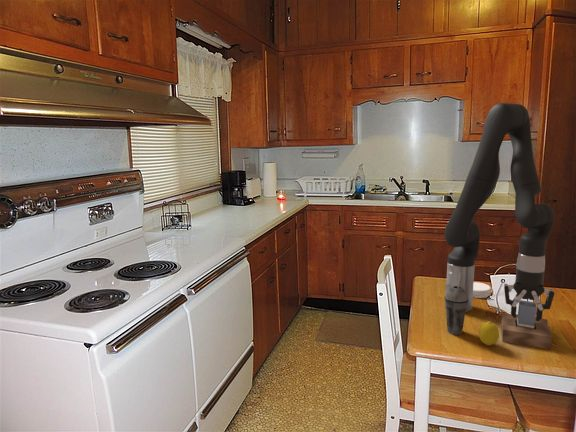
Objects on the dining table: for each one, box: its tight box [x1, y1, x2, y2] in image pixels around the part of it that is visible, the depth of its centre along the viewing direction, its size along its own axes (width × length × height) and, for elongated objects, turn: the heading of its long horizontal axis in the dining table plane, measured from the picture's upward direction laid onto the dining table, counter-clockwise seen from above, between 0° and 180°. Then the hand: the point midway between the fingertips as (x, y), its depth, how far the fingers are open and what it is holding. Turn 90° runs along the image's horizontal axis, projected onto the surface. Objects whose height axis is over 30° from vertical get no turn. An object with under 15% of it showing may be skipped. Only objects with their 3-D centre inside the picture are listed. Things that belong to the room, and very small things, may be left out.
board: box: [500, 312, 553, 350], centre depth 134 cm, size 13×13×4 cm
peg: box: [516, 299, 537, 329], centre depth 134 cm, size 4×4×11 cm
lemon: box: [478, 320, 500, 347], centre depth 129 cm, size 6×6×8 cm
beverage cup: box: [444, 273, 468, 336], centre depth 137 cm, size 7×7×20 cm
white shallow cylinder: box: [473, 281, 492, 299], centre depth 170 cm, size 10×10×4 cm
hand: (525, 318), depth 134 cm, fingers open, 6 cm apart
